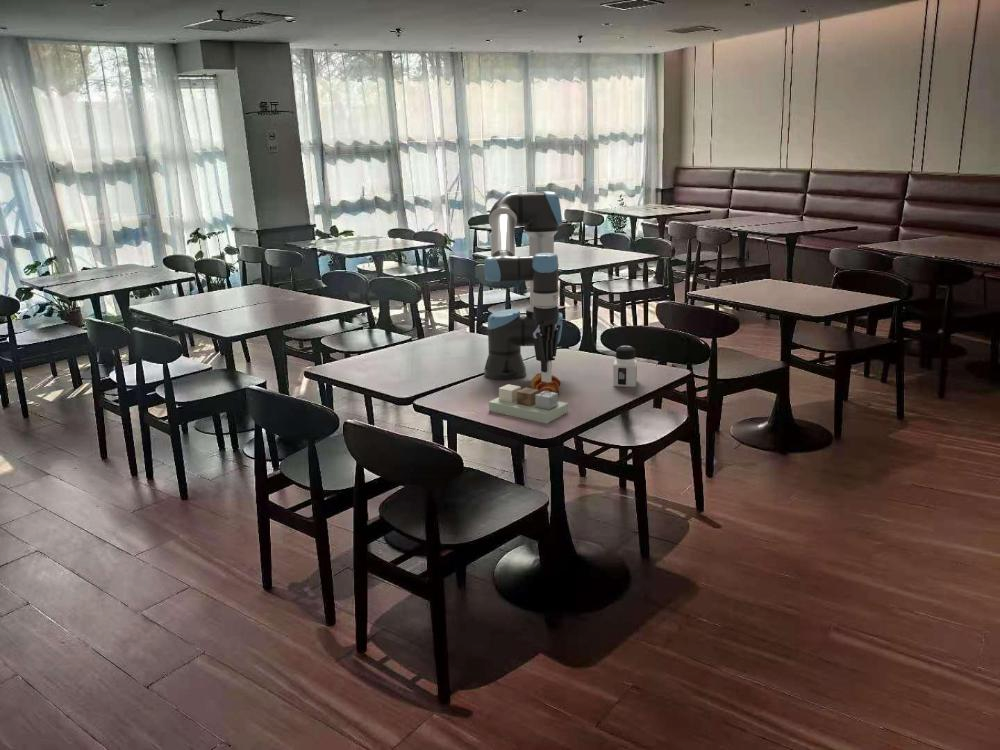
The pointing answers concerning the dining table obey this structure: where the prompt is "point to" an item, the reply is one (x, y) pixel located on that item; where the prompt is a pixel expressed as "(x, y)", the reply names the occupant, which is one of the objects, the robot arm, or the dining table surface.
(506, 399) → the key ivory
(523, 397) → the brown wooden cube
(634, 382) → the container
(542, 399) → the white marble cube
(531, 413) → the pale green flat block
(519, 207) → the robot arm
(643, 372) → the dining table surface
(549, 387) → the croissant
